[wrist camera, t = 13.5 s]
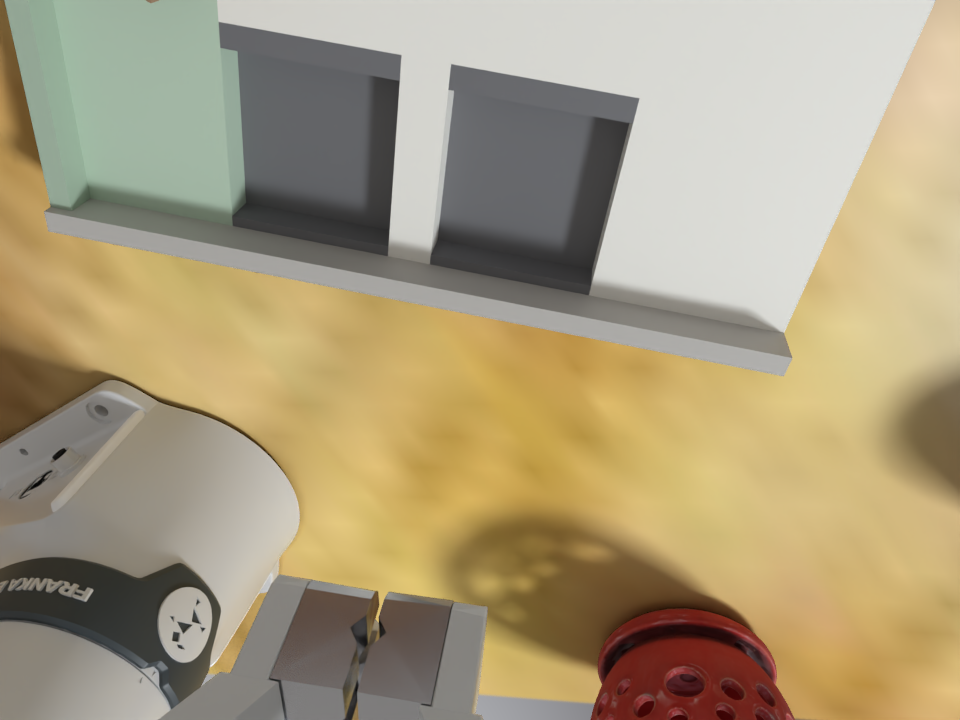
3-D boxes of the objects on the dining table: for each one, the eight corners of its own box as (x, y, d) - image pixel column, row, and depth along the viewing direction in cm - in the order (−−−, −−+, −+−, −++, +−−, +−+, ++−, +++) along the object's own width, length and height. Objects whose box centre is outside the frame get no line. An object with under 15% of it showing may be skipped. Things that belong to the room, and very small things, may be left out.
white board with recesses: (990, -179, 24) (1049, -182, 21) (768, 328, 36) (783, 376, 32) (-1, -338, 26) (-90, -365, 22) (97, 197, 37) (48, 231, 34)
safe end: (222, -303, 25) (172, -321, 22) (250, 227, 37) (220, 259, 34) (-1, -338, 26) (-77, -362, 23) (98, 197, 37) (55, 226, 34)
